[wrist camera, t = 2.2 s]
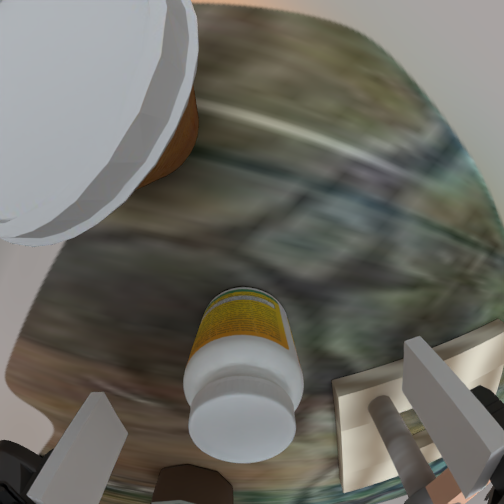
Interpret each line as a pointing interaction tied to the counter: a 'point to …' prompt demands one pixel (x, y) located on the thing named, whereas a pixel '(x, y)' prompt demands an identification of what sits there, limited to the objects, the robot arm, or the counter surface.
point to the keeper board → (394, 402)
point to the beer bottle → (191, 486)
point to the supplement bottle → (243, 378)
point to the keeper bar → (440, 492)
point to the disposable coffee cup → (90, 108)
